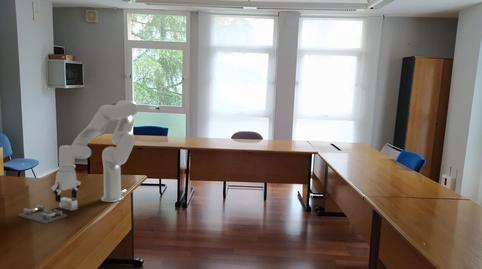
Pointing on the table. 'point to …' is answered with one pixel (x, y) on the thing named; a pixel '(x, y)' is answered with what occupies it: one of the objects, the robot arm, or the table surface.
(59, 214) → the twin roller tray
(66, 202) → the tall grey pillar block
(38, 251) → the table surface
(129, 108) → the robot arm
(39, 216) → the grey flat plate
